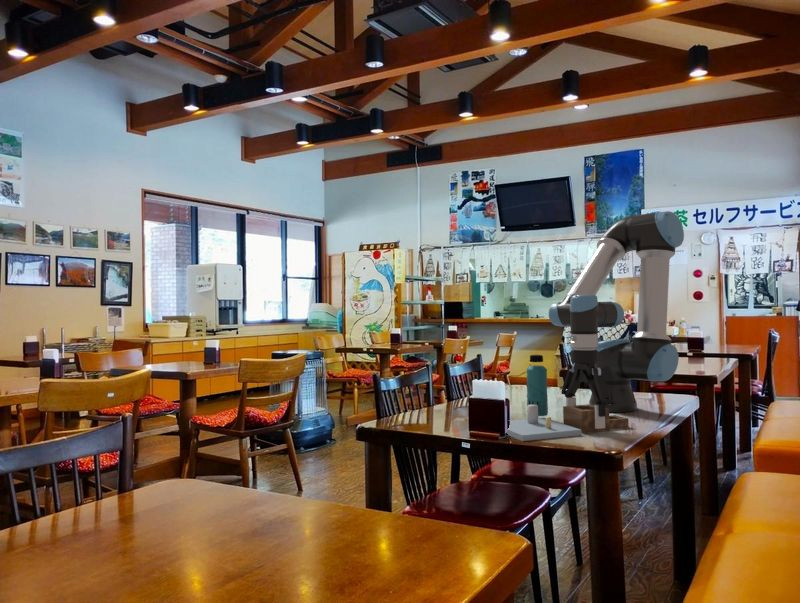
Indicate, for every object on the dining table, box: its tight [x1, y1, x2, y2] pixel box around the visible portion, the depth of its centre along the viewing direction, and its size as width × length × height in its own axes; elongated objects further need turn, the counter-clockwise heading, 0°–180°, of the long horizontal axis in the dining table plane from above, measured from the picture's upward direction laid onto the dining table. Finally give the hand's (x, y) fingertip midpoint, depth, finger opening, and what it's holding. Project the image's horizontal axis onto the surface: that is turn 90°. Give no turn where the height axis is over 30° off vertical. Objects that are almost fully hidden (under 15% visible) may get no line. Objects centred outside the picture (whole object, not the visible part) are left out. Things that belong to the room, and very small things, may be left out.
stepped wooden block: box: [562, 403, 630, 434], centre depth 175 cm, size 16×9×6 cm, turn 108°
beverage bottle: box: [526, 354, 549, 417], centre depth 190 cm, size 6×7×20 cm
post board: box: [507, 404, 582, 442], centre depth 172 cm, size 18×19×6 cm
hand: (585, 424), depth 174 cm, fingers open, 13 cm apart
